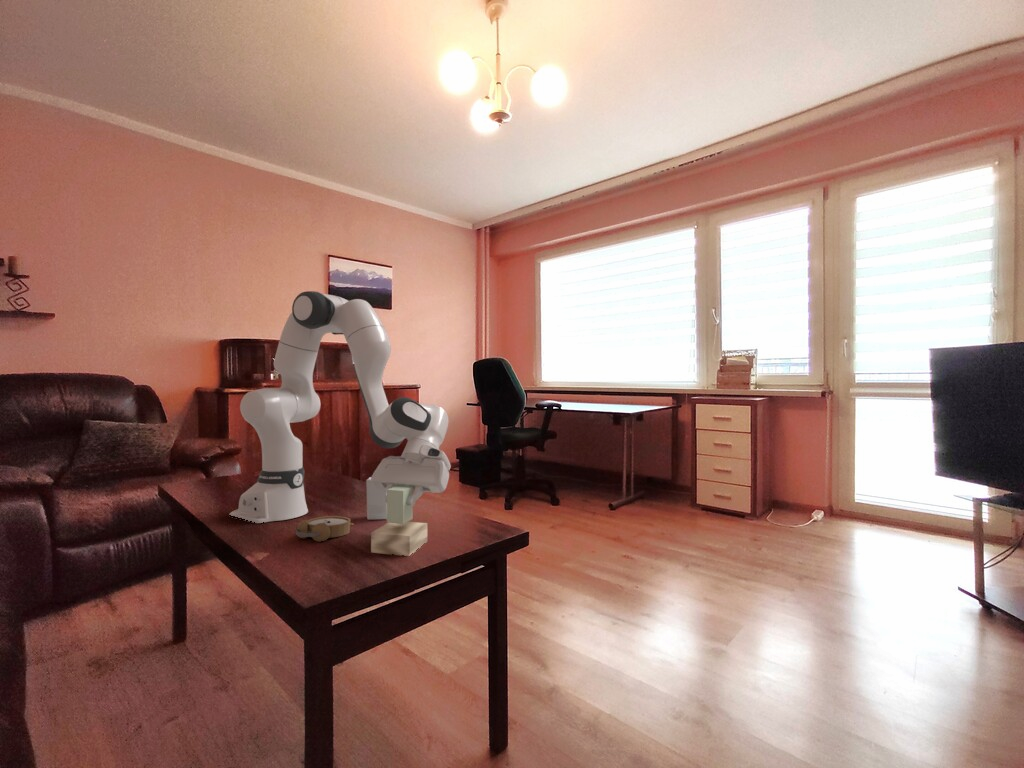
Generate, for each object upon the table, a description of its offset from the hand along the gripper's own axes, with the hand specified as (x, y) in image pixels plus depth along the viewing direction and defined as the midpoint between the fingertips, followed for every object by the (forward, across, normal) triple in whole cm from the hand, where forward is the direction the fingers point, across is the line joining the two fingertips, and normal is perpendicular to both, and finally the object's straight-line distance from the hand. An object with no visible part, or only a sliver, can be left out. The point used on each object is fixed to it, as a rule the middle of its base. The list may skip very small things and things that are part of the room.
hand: (398, 503), depth 109 cm
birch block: (+7, 0, +8) cm, 11 cm away
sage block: (+3, 0, +4) cm, 4 cm away
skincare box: (-6, -19, +22) cm, 29 cm away
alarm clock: (+7, -24, +10) cm, 27 cm away
